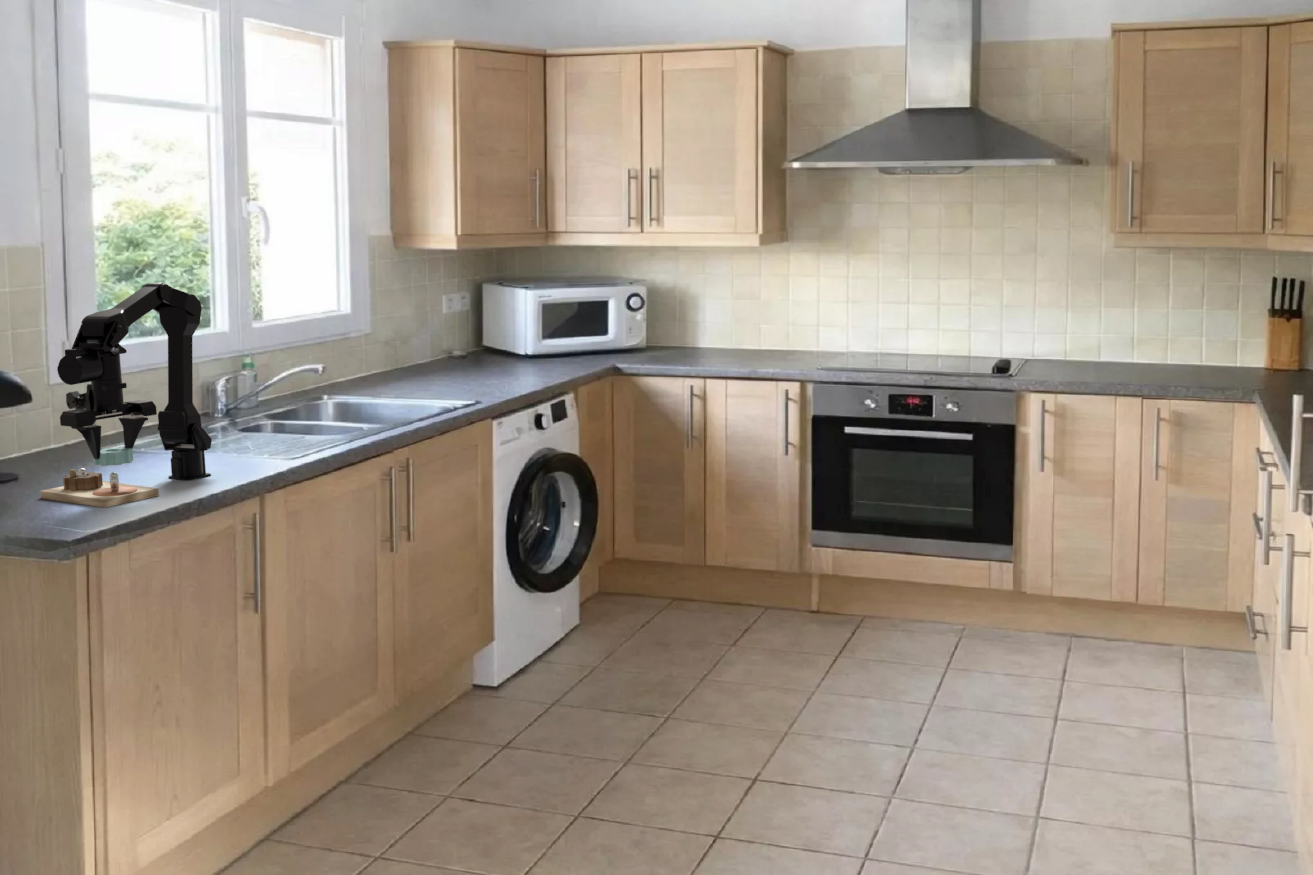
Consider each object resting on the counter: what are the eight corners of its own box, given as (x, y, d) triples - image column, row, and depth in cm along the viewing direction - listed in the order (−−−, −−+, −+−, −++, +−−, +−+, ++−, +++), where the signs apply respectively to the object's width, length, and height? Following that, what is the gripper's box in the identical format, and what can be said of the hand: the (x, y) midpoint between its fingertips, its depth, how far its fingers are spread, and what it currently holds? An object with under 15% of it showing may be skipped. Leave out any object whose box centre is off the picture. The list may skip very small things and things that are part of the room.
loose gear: (117, 458, 292) (116, 446, 291) (140, 461, 288) (139, 448, 287) (86, 464, 286) (85, 451, 285) (109, 466, 282) (108, 454, 281)
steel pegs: (84, 486, 294) (82, 467, 293) (121, 491, 288) (119, 471, 287) (77, 487, 293) (76, 468, 292) (114, 492, 286) (112, 473, 286)
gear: (87, 482, 298) (85, 463, 297) (109, 485, 294) (108, 466, 293) (57, 488, 292) (55, 469, 291) (79, 492, 288) (77, 472, 287)
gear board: (95, 486, 301) (95, 478, 301) (158, 495, 291) (158, 487, 290) (40, 498, 290) (40, 489, 290) (104, 507, 280) (103, 498, 279)
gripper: (119, 371, 296) (125, 445, 299) (39, 382, 280) (46, 460, 283) (155, 374, 290) (161, 449, 293) (75, 384, 275) (82, 465, 277)
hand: (112, 456), depth 287 cm, fingers closed on loose gear, 7 cm apart
